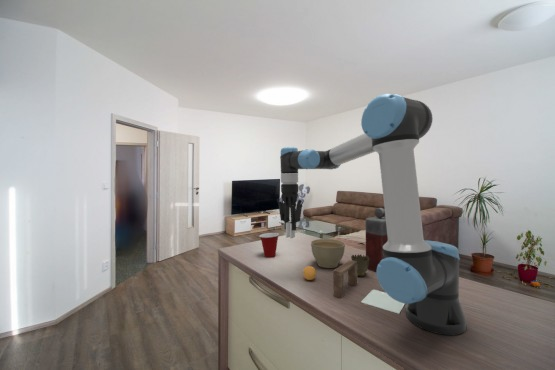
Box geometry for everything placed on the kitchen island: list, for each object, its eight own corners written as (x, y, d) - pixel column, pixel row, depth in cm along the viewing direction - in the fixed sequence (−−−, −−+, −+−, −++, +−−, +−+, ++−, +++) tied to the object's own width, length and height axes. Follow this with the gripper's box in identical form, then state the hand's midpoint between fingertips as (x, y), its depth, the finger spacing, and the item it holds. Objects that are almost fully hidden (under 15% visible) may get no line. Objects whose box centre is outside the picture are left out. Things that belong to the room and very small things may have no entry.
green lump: (370, 279, 105) (370, 260, 105) (352, 277, 107) (352, 259, 107) (368, 272, 113) (367, 254, 112) (350, 271, 114) (350, 253, 114)
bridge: (357, 284, 101) (357, 261, 100) (341, 298, 89) (341, 272, 89) (350, 282, 103) (349, 259, 102) (333, 296, 91) (333, 270, 91)
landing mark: (408, 299, 88) (408, 298, 88) (399, 314, 79) (399, 313, 79) (372, 289, 96) (372, 289, 96) (360, 302, 86) (360, 301, 86)
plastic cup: (267, 251, 146) (267, 231, 145) (283, 255, 139) (283, 233, 139) (255, 256, 137) (255, 234, 137) (271, 260, 131) (271, 237, 130)
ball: (318, 278, 106) (318, 266, 106) (311, 283, 102) (311, 269, 102) (307, 275, 110) (307, 263, 110) (300, 280, 106) (300, 267, 105)
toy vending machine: (398, 269, 116) (398, 207, 115) (382, 274, 110) (382, 209, 109) (381, 263, 123) (380, 206, 122) (365, 268, 118) (365, 207, 117)
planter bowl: (344, 272, 113) (343, 248, 112) (308, 269, 118) (307, 245, 117) (346, 261, 128) (346, 239, 127) (314, 258, 133) (314, 237, 133)
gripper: (308, 183, 109) (309, 237, 110) (281, 183, 118) (282, 233, 119) (298, 183, 103) (299, 241, 104) (271, 183, 112) (272, 236, 113)
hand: (290, 237), depth 111 cm, fingers closed
